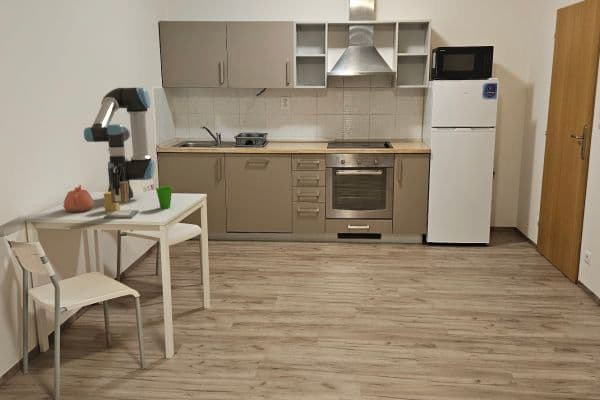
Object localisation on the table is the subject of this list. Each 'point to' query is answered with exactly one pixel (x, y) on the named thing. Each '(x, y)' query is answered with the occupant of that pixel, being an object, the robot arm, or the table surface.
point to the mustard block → (110, 203)
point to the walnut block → (123, 190)
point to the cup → (164, 196)
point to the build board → (121, 214)
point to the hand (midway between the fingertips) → (120, 199)
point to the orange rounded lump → (78, 200)
